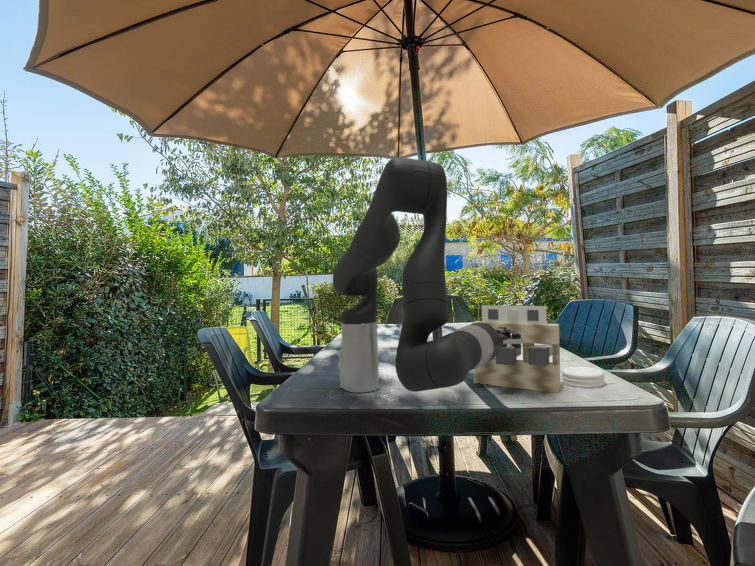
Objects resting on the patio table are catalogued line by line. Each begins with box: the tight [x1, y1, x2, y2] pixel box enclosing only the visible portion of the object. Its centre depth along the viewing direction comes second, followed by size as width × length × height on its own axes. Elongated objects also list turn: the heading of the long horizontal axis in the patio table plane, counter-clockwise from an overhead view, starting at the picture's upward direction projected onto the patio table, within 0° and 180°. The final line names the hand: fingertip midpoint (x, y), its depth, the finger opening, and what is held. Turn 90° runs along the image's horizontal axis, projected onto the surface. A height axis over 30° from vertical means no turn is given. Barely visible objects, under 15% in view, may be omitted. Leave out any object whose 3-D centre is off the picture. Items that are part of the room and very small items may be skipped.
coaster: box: [561, 366, 606, 389], centre depth 115 cm, size 10×10×4 cm
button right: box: [528, 344, 552, 366], centre depth 110 cm, size 4×10×4 cm, turn 146°
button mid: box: [496, 345, 522, 366], centre depth 112 cm, size 4×10×4 cm, turn 146°
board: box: [471, 320, 564, 394], centre depth 116 cm, size 21×6×16 cm, turn 56°
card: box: [481, 304, 548, 325], centre depth 114 cm, size 16×1×4 cm, turn 56°
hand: (503, 331), depth 96 cm, fingers closed
